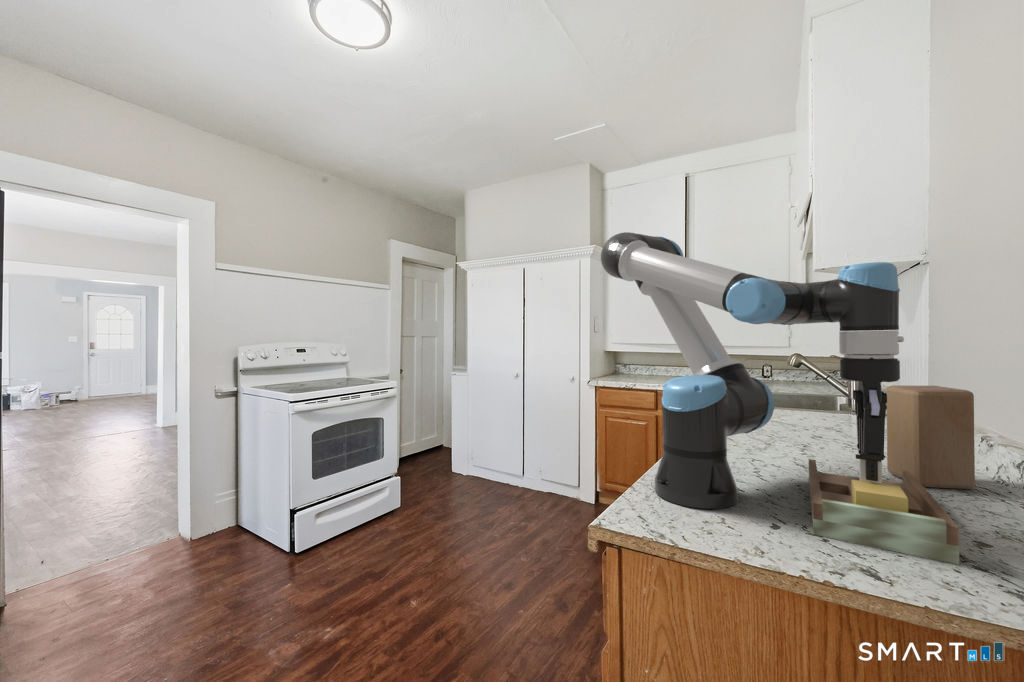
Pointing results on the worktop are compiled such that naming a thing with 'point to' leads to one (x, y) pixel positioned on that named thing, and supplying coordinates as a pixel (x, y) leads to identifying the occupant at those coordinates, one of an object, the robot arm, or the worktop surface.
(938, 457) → the block
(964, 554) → the worktop surface
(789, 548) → the worktop surface
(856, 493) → the ochre block
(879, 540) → the tray
